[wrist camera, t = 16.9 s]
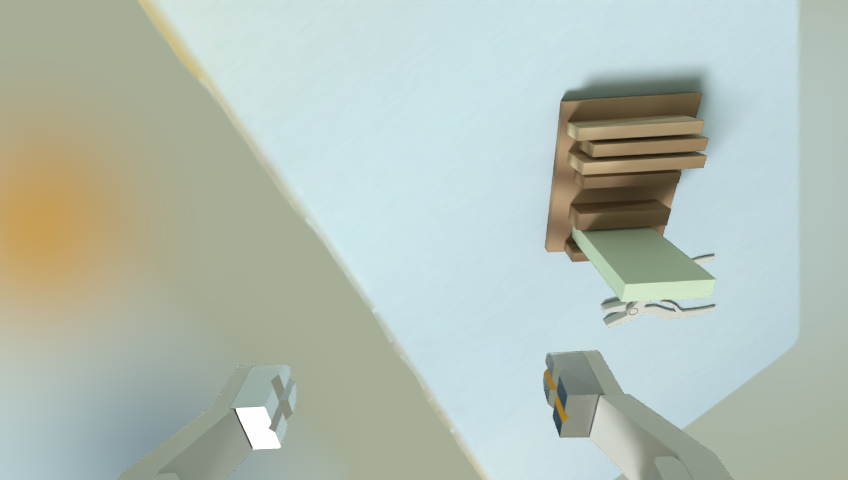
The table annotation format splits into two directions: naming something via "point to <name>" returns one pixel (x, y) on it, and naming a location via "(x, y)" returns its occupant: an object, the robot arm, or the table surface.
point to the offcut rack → (620, 163)
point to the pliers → (650, 307)
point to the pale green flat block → (643, 264)
